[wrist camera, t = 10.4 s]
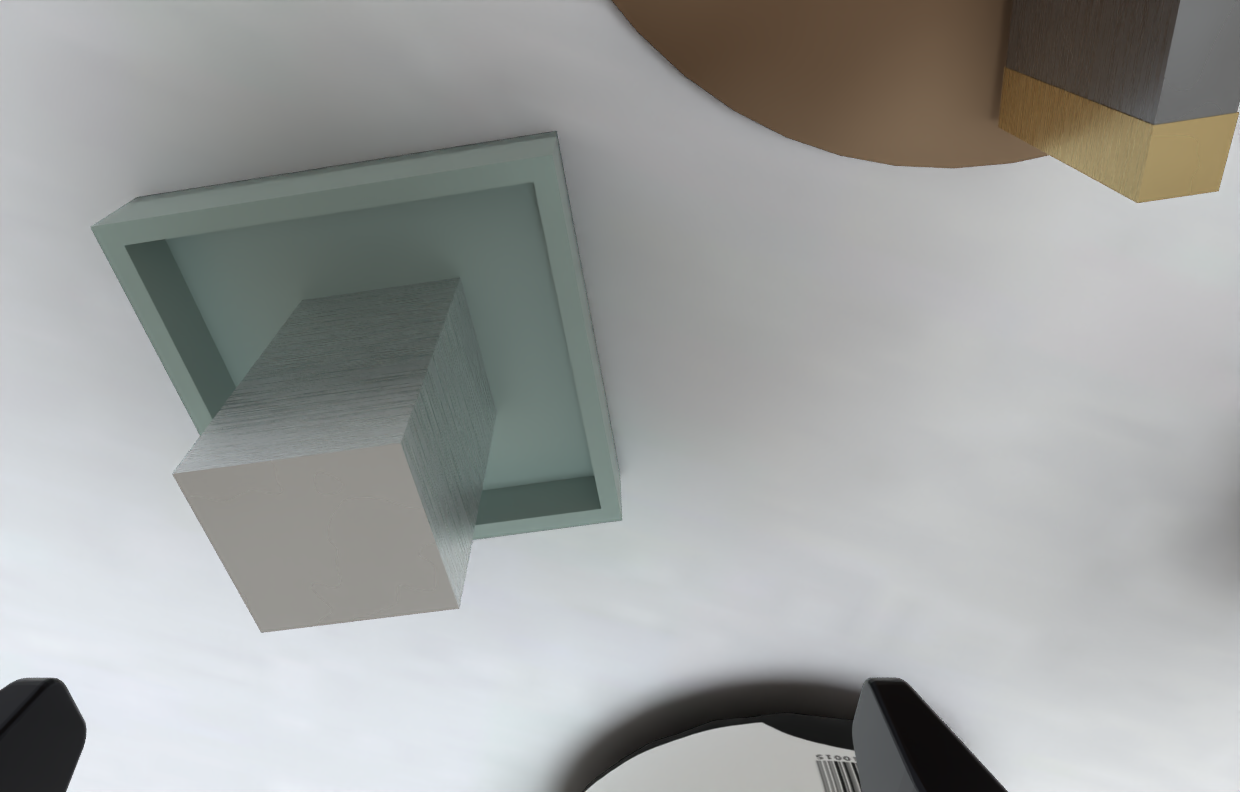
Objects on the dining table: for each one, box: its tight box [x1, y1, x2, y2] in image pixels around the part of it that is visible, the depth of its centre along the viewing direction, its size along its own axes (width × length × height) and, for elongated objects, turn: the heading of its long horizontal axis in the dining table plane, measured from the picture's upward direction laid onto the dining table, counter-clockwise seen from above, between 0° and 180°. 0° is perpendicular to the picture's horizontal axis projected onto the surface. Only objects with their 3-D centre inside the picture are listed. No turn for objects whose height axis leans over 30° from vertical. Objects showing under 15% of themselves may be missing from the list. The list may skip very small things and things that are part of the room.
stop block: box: [172, 277, 497, 633], centre depth 17 cm, size 4×4×7 cm
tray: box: [91, 131, 622, 540], centre depth 20 cm, size 10×10×2 cm
